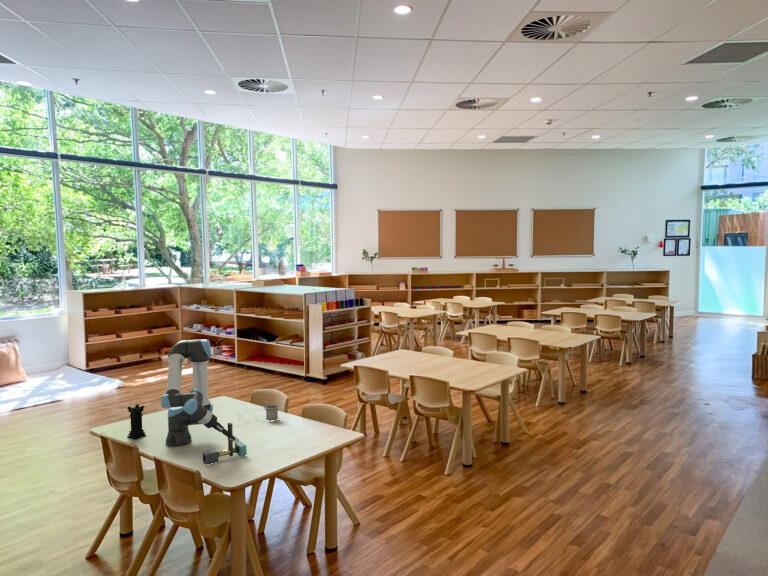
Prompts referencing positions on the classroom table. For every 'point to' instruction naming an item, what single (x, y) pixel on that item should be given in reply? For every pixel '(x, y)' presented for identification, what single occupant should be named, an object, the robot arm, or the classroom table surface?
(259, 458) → the classroom table surface
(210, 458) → the graphite sleeve
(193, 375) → the robot arm
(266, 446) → the classroom table surface
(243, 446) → the teal socket block
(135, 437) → the chess piece
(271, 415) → the mug
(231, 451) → the dark grey post stand
